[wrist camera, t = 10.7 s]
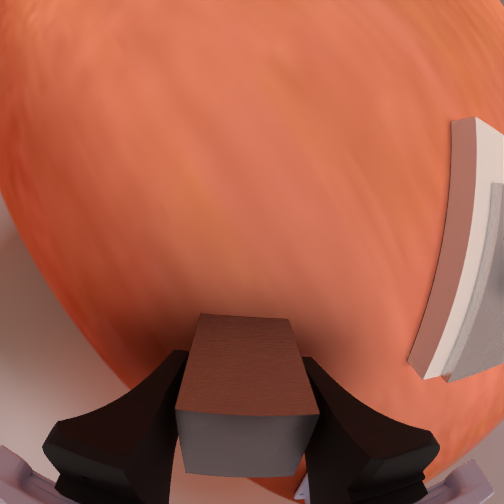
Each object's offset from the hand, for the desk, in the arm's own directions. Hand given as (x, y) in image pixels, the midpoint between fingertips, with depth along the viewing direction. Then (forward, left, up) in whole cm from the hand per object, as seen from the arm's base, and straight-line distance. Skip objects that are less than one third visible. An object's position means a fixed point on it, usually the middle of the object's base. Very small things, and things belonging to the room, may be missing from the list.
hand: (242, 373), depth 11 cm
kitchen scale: (+6, -19, -2) cm, 20 cm away
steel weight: (0, 0, -2) cm, 2 cm away
